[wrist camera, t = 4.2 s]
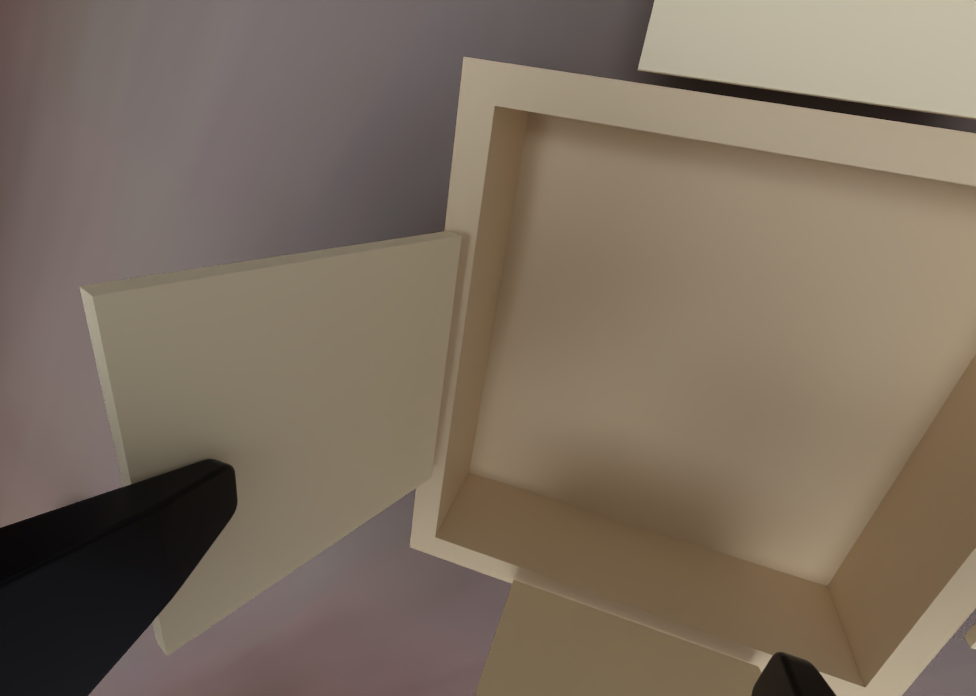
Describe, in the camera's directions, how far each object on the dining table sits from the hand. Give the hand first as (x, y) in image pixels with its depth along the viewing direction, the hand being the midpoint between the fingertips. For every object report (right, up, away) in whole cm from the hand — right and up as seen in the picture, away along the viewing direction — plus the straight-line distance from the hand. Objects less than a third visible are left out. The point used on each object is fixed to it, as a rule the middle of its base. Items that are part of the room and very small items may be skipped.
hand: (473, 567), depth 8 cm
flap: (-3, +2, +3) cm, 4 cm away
